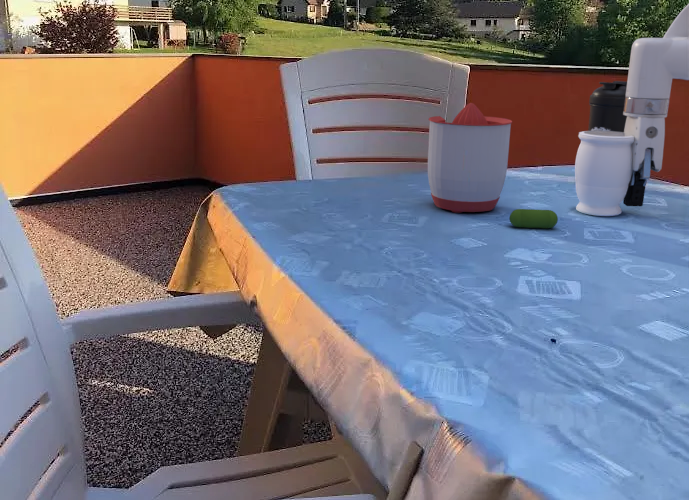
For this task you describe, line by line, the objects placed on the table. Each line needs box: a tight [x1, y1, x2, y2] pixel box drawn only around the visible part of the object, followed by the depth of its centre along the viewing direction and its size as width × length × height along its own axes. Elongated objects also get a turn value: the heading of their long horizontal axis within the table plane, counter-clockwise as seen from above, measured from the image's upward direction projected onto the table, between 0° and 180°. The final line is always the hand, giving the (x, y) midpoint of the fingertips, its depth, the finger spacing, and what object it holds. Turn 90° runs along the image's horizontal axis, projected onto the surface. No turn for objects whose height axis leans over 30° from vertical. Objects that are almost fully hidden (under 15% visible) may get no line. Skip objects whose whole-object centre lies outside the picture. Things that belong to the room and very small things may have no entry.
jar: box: [574, 130, 635, 217], centre depth 134 cm, size 11×10×15 cm
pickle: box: [509, 208, 559, 229], centre depth 123 cm, size 8×3×3 cm, turn 85°
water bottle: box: [587, 80, 627, 132], centre depth 162 cm, size 10×10×23 cm
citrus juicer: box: [427, 102, 513, 214], centre depth 136 cm, size 16×17×20 cm
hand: (632, 205), depth 135 cm, fingers closed
